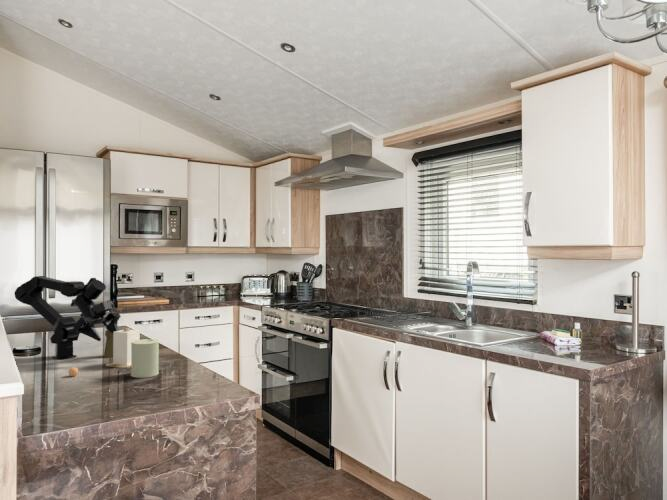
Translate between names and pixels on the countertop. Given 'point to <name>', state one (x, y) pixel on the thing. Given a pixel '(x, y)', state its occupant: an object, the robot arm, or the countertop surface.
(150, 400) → the countertop surface
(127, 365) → the coaster
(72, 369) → the ball
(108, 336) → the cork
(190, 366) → the countertop surface
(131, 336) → the knobbed white block
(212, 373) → the countertop surface
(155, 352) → the can
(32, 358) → the countertop surface
